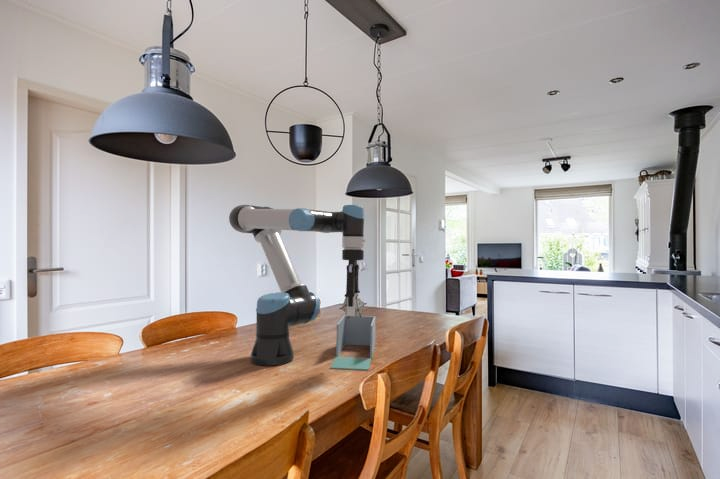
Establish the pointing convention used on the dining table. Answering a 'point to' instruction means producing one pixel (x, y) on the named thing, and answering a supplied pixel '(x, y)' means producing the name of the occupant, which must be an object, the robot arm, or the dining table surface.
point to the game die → (358, 306)
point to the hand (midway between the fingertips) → (352, 313)
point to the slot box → (356, 332)
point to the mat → (351, 363)
